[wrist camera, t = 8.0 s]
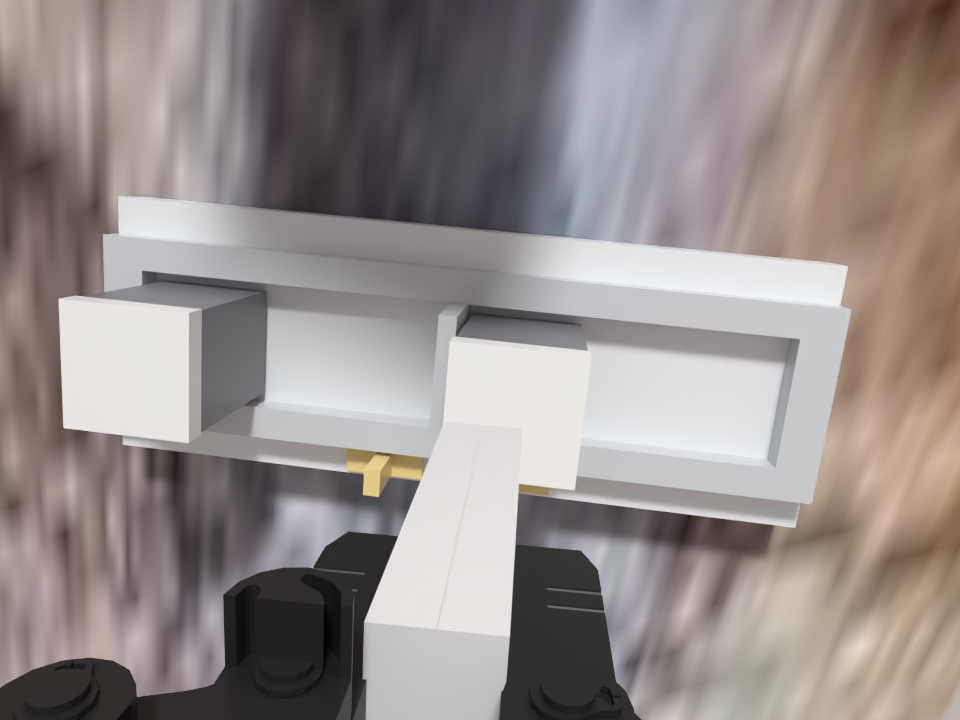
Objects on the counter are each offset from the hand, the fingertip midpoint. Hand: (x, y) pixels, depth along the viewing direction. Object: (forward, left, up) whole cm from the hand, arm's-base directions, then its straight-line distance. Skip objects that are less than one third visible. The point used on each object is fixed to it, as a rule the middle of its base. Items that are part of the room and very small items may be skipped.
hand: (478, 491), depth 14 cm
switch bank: (-2, -1, -16) cm, 16 cm away
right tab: (0, -1, -13) cm, 13 cm away
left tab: (-12, -1, -13) cm, 18 cm away
